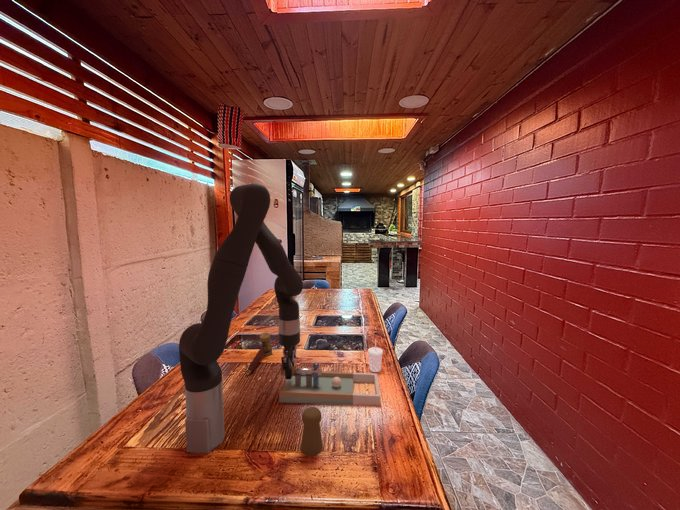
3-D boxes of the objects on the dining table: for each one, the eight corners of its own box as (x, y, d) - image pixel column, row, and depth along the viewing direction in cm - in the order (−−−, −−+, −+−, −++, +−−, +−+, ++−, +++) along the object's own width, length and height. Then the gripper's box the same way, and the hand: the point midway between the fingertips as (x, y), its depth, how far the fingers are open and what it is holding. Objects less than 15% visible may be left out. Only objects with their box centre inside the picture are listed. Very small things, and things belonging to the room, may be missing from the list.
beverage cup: (365, 368, 116) (365, 336, 114) (378, 366, 118) (378, 334, 117) (371, 376, 110) (372, 342, 109) (385, 373, 112) (386, 340, 111)
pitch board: (379, 407, 91) (380, 389, 91) (279, 403, 93) (279, 384, 93) (376, 383, 105) (377, 367, 105) (289, 379, 107) (289, 363, 106)
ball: (341, 389, 97) (341, 380, 97) (331, 389, 97) (331, 380, 97) (341, 384, 101) (341, 375, 100) (332, 383, 101) (332, 374, 100)
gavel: (254, 385, 110) (250, 365, 107) (243, 384, 111) (240, 364, 107) (273, 350, 130) (271, 332, 126) (264, 349, 130) (262, 331, 127)
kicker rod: (321, 387, 97) (321, 365, 97) (280, 386, 98) (280, 364, 97) (322, 382, 101) (322, 360, 100) (283, 380, 102) (283, 359, 101)
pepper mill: (311, 436, 79) (311, 400, 78) (327, 447, 75) (327, 409, 74) (296, 449, 74) (295, 411, 73) (311, 461, 70) (311, 422, 69)
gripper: (295, 338, 90) (295, 387, 92) (303, 323, 104) (303, 366, 106) (273, 337, 91) (274, 386, 93) (284, 322, 105) (284, 365, 107)
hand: (289, 375), depth 99 cm, fingers closed on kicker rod, 3 cm apart
